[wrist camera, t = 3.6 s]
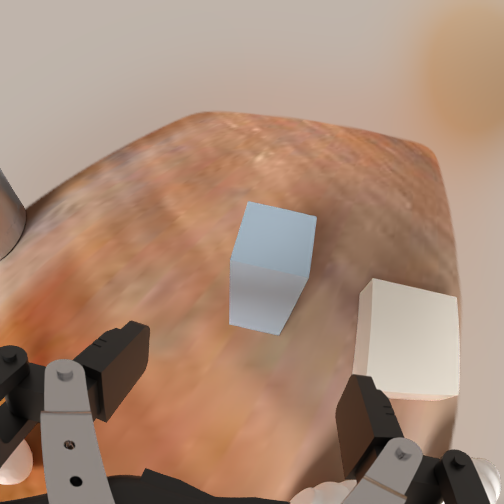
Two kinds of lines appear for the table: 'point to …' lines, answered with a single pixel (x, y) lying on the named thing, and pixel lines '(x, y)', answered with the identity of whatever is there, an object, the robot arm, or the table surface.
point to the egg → (17, 465)
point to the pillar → (269, 266)
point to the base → (408, 341)
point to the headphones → (332, 494)
